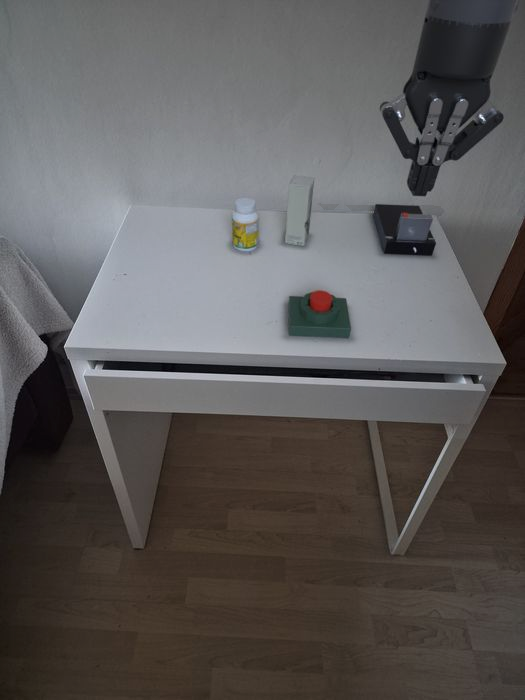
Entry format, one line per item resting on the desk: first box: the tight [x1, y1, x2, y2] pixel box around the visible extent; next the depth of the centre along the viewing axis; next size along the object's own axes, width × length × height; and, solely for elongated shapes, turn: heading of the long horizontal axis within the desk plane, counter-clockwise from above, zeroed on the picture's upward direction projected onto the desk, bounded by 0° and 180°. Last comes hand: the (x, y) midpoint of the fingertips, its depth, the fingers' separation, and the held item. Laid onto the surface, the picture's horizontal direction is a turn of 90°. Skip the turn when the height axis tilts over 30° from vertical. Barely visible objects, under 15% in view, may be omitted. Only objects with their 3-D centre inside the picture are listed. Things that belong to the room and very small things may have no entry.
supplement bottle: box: [231, 197, 260, 252], centre depth 90 cm, size 5×5×10 cm
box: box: [284, 174, 315, 247], centre depth 91 cm, size 5×4×13 cm
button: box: [309, 289, 332, 312], centre depth 74 cm, size 4×4×2 cm
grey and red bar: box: [395, 213, 434, 241], centre depth 89 cm, size 6×2×5 cm, turn 88°
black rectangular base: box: [372, 203, 437, 257], centre depth 95 cm, size 20×10×3 cm, turn 178°
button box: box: [288, 291, 352, 339], centre depth 75 cm, size 10×8×4 cm
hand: (417, 193), depth 53 cm, fingers closed
